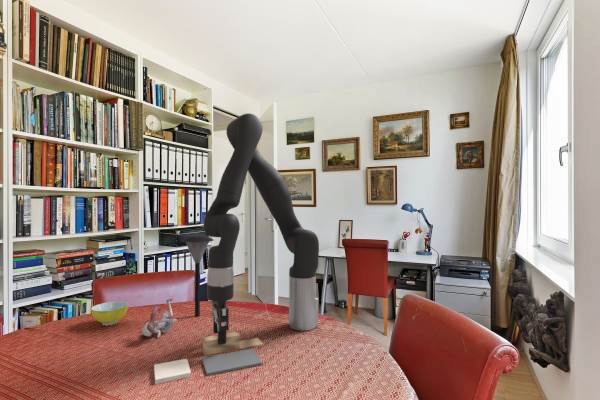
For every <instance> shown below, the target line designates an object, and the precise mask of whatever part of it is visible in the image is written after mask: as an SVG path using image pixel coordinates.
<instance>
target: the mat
mask: <svg viewBox="0 0 600 400" xmlns="http://www.w3.org/2000/svg"><path fill="white" fill-rule="evenodd" d="M201 362H202V364H203V368H204V370H205V371H204V372H205V373H206V376H208V377H209V376H212V375H217V374H218V375H219V374H224V373H227V372H233V371H237V370H241V369H242V370H243V369H247V368H253V367H258V366H262V365H263V362H262V361H261V359H260V358H259V356H258V355H257V353H256V352H255V349H253V348H249V349H244V350H238V351H233V352H227V353H226V352H225V353H221V354H217V355H215V354H214V355H208V356H204V357H201Z"/></svg>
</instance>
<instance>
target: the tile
mask: <svg viewBox="0 0 600 400" xmlns="http://www.w3.org/2000/svg"><path fill="white" fill-rule="evenodd" d="M153 369H154V370H153V372H154V385H160V384H164V383H169V382H173V381H178V380H183V379H186V378H187V379H188V378H191V376H192V371H191V368H190V364H189V361H188V358H184V359H182V358H181V359H177V360H172V361H166V362H161V363H155V364H153Z"/></svg>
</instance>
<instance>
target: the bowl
mask: <svg viewBox="0 0 600 400" xmlns="http://www.w3.org/2000/svg"><path fill="white" fill-rule="evenodd" d="M128 308H129V303H128V302H127V301H108V302H103V303H100V304H96V305H93V306H92V307H91V308H90V310H91V315H92V318H94V319H95V320H96V321H97V322H99V323H101V325H102V326H104V325H105V326H106V327H108V325H110V326H114V325H116V324H117V323H118V321H119V320H121V319H122V318H123V317H124V316H125V315H126V313H127V311H128V310H129V309H128ZM115 323H116V324H115ZM113 324H114V325H113Z"/></svg>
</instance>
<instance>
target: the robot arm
mask: <svg viewBox="0 0 600 400" xmlns="http://www.w3.org/2000/svg"><path fill="white" fill-rule="evenodd" d="M225 133H226V138H227V139H228V141H229V144H230V145H231V146H232V148H233V151H232V155H231V157H230V160H229V161H228V163H227V165H226V166H225V169H224V171H223V173H222V175H221V178H220V181H219V184H218V185H219V186H218V187H217V188H218V189H217V193H216V197H215V198H214V200H213V202H212V204H211V205H210V207H209V209H208V211H207V213H206V214H205V217H204V219H203V229H204V233H205V234H206V236H208V237H210V238H219V239H220V240H219V242H218V244H217V245H213V246H210V248H209V249H208V265H207V266H208V267H207V275H206V276H207V277H206V298H207V300H209V301H211V302H212V305H211V316H212V321H213V325H212V326H213V329H212V332H213V333H214V334H217V335H218V344H219V345H221V344H225V343H226V333H227V331H229V330H230V326H229V325H230V324H229V319H230V318H229V317H230V315H229V312H230V310H229V306H228V305H227V301H230V300H232V299H233V298H234V289H235V288H234V283H235V281H234V280H235V273H234V251H235V249H236V244H237V241H238V237H239V233H240V229H241V227H240V226H241V225H240V222H239V218H238V216H236V215H235V214H233V213H228V211H230V210H232V209H234V208H237V207H238V206H239V204H240V202H241V197H242V194H243V190H244V184H245V181H246V177H247V174H249V175H250V177H251V179H252V180H253V183H254V185H255V186H256V188H257V190H258V192H259V195H260V196H261V199H262V201H264V203H265V205H266V207H267V208H268V211H269V212H270V214H271V217H273V219H274V220H275V222H276V224H277V226H278V228H279V230H280V233H281V235H282V238H283V241H284V243H285V247H287V249H288V250H289V252H290V253H292V254H293V264H292V265H291V266H290V267H289V270H288V277H289V278H288V283H289V284H288V285H289V286H288V291H289V292H288V310H289V311H288V314H289V315H288V327H289V328H291V329H292V330H295V331H311V330H313V329H315V328H317V327H319V298H318V297H317V270H318V267H319V256H320V255H319V254H320V252H319V251H320V241H319V238H318V236H317V234H316V233H315V232H314V231H312V230H310V229H305V228H304V227H303V226H302V224H301V223H300V220H299V219H298V217H297V216H296V214H295V211H294V207H293V201H292V200H293V199H292V195H291V192H290V190H289V187H288V185H287V183H286V181H285V180H284V178H283V176H282V174H281V173H280V172H279V171H278V170H277V169H276V168H275V167H274V166H273V165H272V164H271V163H269V162H268V161H267V160H266V159H265V158H264V157H263V155H262V154H261V153H260V151H259V148H258V147H257V146H258V144H259V143H260V140H261V137H262V134H263V125H262V121H261V120H260V118H259V117H258V116H257V115H255V114H254V113H244V114H241V115H239V116H238V117H237V118H235V119H233V120H232V121H231V122H229V124H228V125H227V127H226V132H225ZM222 323H223V324H224V325H222Z"/></svg>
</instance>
